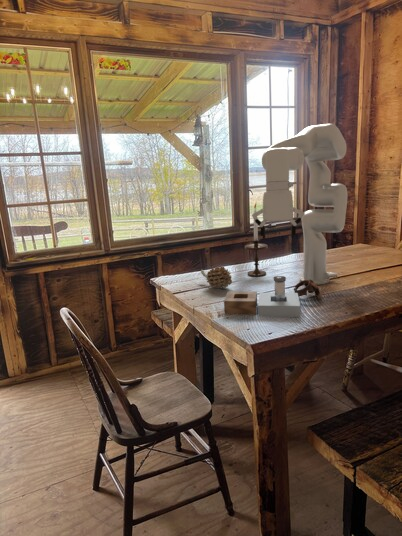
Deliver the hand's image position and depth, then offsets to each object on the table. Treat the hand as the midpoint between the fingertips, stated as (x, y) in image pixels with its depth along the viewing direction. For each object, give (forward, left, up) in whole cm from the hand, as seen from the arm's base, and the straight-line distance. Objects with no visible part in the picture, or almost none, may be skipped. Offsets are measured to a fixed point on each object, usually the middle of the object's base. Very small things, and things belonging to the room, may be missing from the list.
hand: (278, 237), depth 126 cm
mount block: (+14, 0, -26) cm, 29 cm away
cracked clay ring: (-11, -13, -27) cm, 32 cm away
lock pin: (0, 0, -26) cm, 26 cm away
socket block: (0, 0, -26) cm, 26 cm away
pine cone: (+28, -28, -27) cm, 48 cm away
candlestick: (+10, -48, -26) cm, 56 cm away
